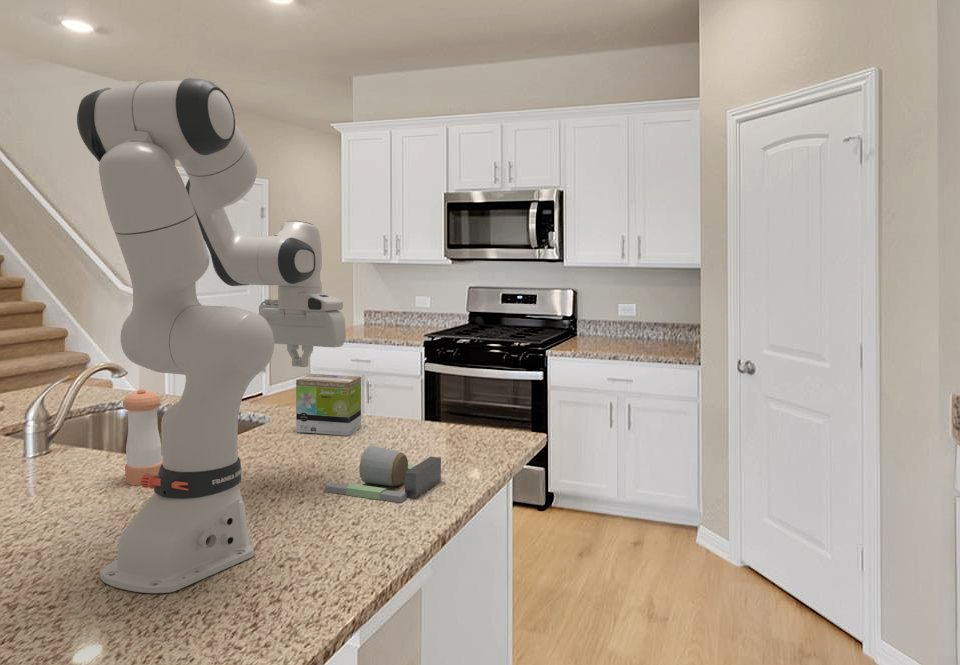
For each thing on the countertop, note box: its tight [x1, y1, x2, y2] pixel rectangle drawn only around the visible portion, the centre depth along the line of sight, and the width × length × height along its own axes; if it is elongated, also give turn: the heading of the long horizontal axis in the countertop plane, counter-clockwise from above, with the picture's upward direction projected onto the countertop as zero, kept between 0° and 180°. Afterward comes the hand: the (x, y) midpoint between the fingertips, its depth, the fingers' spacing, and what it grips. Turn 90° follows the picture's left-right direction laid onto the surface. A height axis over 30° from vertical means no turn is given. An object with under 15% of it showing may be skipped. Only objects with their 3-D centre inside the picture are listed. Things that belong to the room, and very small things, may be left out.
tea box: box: [295, 373, 362, 437], centre depth 188 cm, size 15×10×15 cm
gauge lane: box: [323, 464, 416, 504], centre depth 145 cm, size 19×17×2 cm
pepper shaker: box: [122, 388, 163, 486], centre depth 145 cm, size 7×7×19 cm
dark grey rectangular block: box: [404, 456, 442, 499], centre depth 142 cm, size 12×2×5 cm, turn 159°
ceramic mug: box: [358, 445, 409, 487], centre depth 146 cm, size 11×8×8 cm
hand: (300, 366), depth 147 cm, fingers closed
